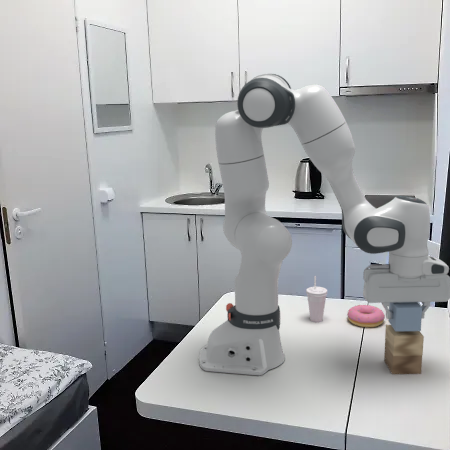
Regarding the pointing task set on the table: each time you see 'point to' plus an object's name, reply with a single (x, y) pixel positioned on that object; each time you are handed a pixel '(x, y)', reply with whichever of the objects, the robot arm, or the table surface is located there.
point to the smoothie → (316, 302)
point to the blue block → (406, 316)
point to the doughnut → (366, 316)
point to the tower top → (404, 342)
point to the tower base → (403, 363)
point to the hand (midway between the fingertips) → (404, 318)
